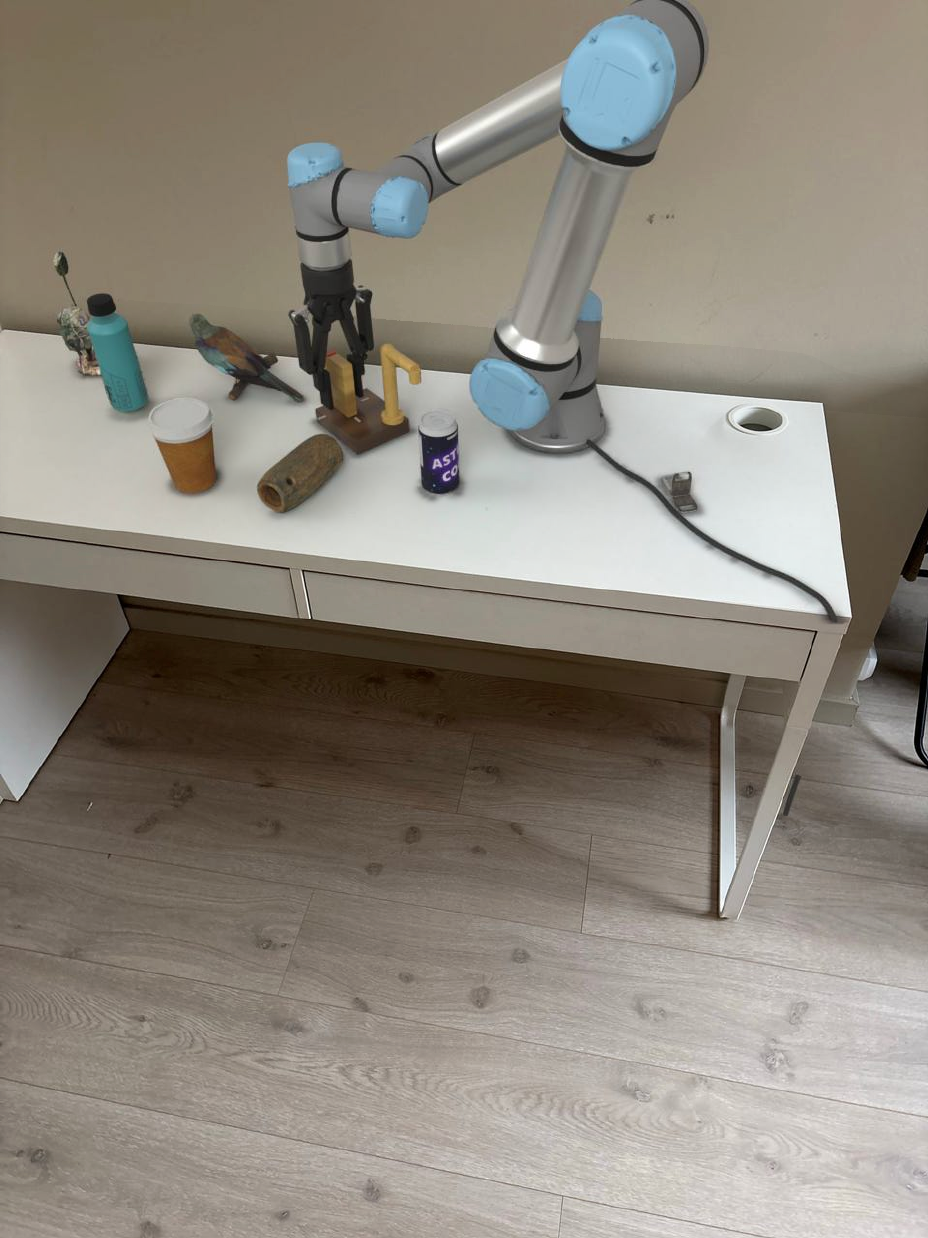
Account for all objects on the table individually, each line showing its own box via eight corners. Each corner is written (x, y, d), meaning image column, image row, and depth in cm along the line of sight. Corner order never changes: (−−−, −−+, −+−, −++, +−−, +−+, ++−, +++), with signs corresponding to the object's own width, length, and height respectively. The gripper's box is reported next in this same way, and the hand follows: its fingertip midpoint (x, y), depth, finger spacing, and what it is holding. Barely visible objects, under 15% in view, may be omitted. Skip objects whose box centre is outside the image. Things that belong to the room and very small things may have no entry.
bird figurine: (321, 382, 174) (252, 277, 165) (291, 413, 167) (217, 305, 159) (271, 403, 182) (203, 304, 173) (240, 432, 176) (168, 331, 167)
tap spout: (431, 436, 158) (427, 361, 149) (412, 445, 157) (407, 369, 148) (395, 410, 164) (390, 336, 155) (377, 418, 162) (370, 343, 153)
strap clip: (659, 480, 153) (662, 456, 150) (679, 477, 154) (682, 454, 151) (678, 514, 147) (682, 491, 144) (699, 511, 148) (703, 488, 145)
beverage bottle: (160, 405, 171) (130, 293, 157) (131, 424, 167) (98, 311, 153) (132, 394, 174) (100, 283, 160) (103, 413, 170) (68, 300, 156)
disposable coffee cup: (213, 503, 151) (197, 435, 143) (153, 496, 153) (134, 428, 145) (236, 466, 158) (221, 398, 150) (178, 459, 160) (161, 392, 151)
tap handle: (357, 413, 163) (351, 362, 157) (348, 417, 163) (342, 366, 156) (338, 399, 167) (332, 348, 160) (329, 403, 166) (322, 352, 159)
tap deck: (409, 431, 164) (408, 417, 162) (350, 457, 159) (348, 443, 157) (361, 396, 172) (360, 382, 170) (303, 419, 167) (301, 405, 165)
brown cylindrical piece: (298, 524, 148) (291, 486, 143) (257, 511, 150) (250, 474, 145) (349, 467, 157) (345, 431, 153) (310, 457, 159) (305, 420, 155)
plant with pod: (58, 380, 177) (21, 270, 163) (91, 348, 185) (58, 240, 171) (100, 386, 176) (67, 275, 162) (132, 353, 184) (102, 245, 170)
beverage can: (432, 503, 150) (428, 434, 142) (415, 482, 154) (411, 414, 146) (466, 491, 152) (464, 423, 144) (448, 472, 156) (446, 404, 148)
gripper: (363, 234, 153) (375, 371, 169) (258, 268, 146) (281, 409, 162) (391, 250, 149) (401, 390, 165) (285, 287, 141) (306, 430, 157)
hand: (342, 399), depth 163 cm, fingers open, 5 cm apart
